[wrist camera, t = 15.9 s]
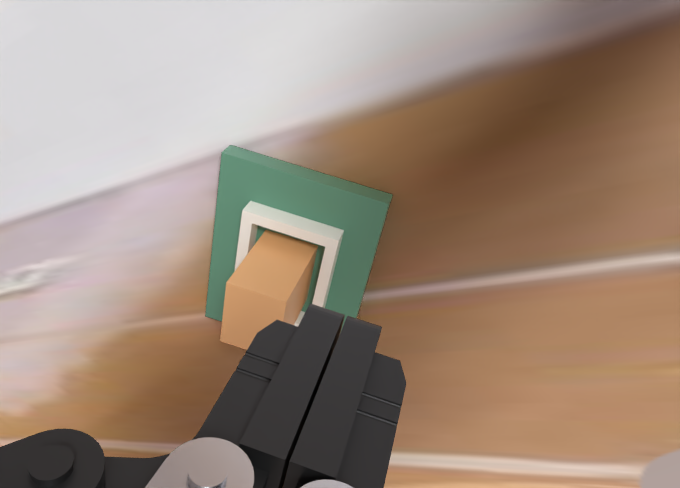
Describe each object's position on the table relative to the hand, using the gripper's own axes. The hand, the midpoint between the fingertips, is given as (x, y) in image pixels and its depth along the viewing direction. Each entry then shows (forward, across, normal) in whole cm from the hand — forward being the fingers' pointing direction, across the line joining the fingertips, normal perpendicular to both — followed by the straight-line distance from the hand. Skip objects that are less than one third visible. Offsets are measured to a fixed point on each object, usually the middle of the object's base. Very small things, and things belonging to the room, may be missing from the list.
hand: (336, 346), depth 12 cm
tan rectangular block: (+26, +7, +17) cm, 32 cm away
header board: (+27, +7, +18) cm, 33 cm away
